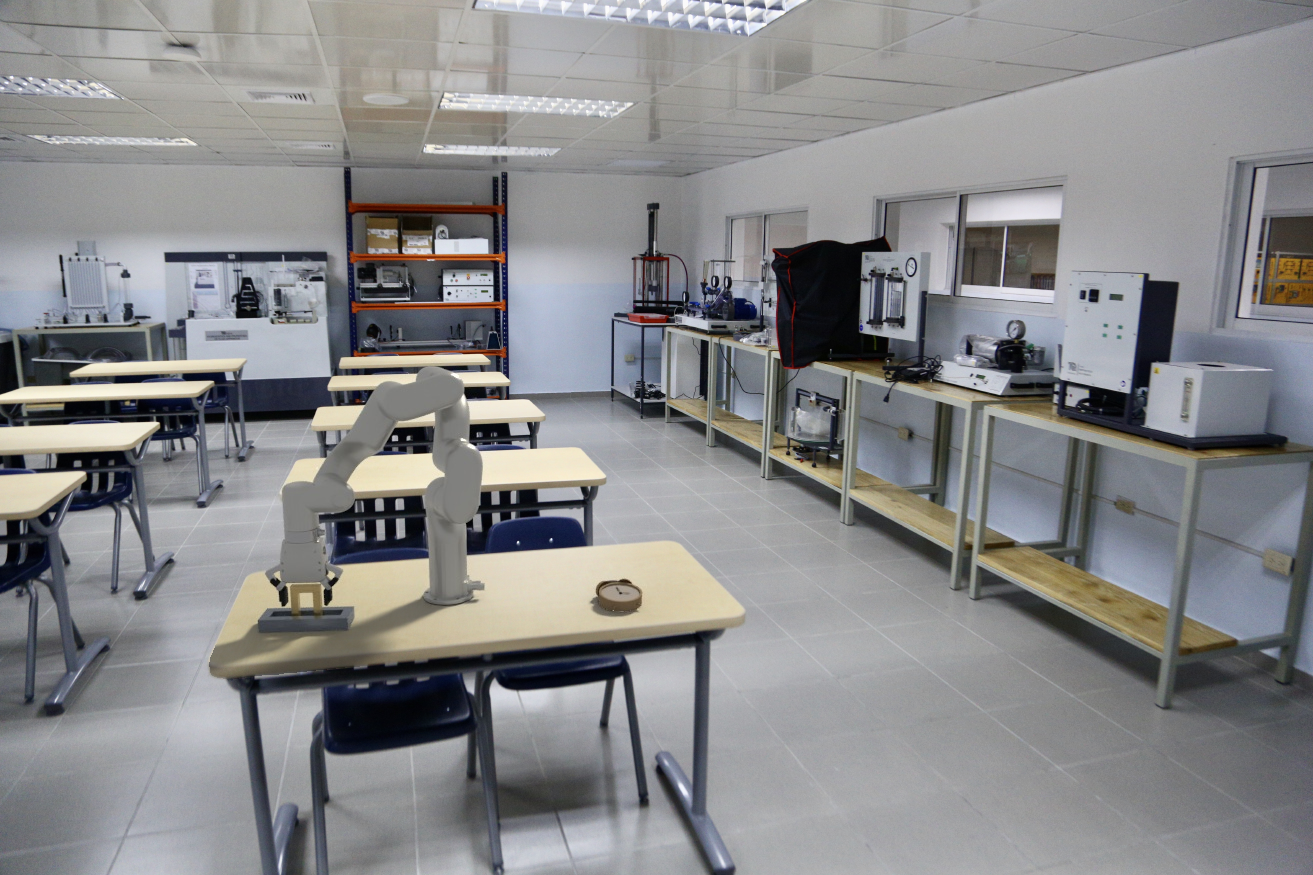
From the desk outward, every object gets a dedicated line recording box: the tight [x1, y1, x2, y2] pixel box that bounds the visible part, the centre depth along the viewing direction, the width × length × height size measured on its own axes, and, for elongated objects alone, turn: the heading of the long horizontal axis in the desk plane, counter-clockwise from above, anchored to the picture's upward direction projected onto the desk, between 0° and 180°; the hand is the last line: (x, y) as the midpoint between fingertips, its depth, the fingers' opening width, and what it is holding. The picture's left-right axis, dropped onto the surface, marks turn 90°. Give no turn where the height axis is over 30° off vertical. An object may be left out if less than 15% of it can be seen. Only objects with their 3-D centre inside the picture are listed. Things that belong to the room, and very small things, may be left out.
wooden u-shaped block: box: [289, 583, 323, 616], centre depth 200 cm, size 7×2×9 cm, turn 97°
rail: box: [257, 605, 355, 633], centre depth 201 cm, size 20×7×3 cm, turn 97°
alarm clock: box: [595, 578, 643, 613], centre depth 220 cm, size 11×5×15 cm
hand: (306, 603), depth 200 cm, fingers open, 9 cm apart
